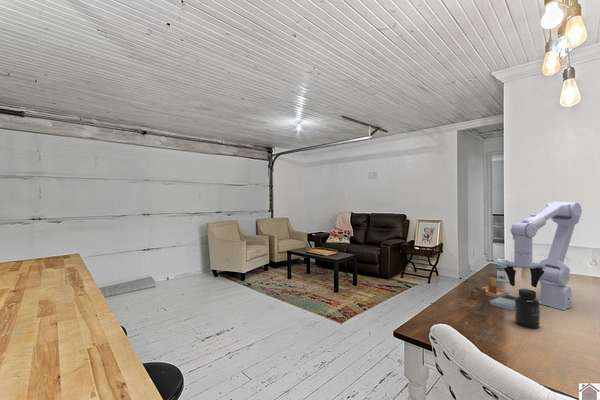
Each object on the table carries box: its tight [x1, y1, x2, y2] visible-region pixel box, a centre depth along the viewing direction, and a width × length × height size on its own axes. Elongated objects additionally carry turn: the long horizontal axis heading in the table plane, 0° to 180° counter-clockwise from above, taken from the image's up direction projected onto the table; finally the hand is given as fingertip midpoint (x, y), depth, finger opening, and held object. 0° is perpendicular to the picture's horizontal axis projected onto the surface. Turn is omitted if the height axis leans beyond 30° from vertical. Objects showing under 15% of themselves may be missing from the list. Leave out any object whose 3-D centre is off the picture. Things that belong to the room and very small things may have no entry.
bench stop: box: [470, 286, 486, 300], centre depth 128 cm, size 2×8×4 cm, turn 119°
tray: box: [482, 285, 510, 299], centre depth 132 cm, size 9×9×2 cm
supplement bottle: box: [514, 288, 541, 329], centre depth 101 cm, size 7×7×12 cm
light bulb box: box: [496, 257, 513, 284], centre depth 155 cm, size 11×7×11 cm, turn 143°
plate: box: [489, 297, 515, 311], centre depth 119 cm, size 8×8×2 cm
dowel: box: [487, 276, 498, 294], centre depth 132 cm, size 3×3×7 cm
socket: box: [497, 294, 517, 301], centre depth 124 cm, size 7×7×1 cm
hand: (523, 286), depth 114 cm, fingers open, 7 cm apart
